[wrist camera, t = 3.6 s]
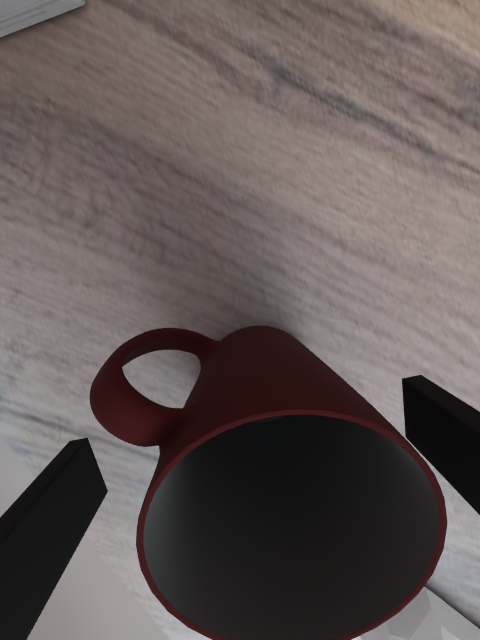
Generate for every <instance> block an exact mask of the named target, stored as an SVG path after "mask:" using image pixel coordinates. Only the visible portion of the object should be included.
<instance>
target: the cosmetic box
mask: <svg viewBox="0 0 480 640" xmlns="http://www.w3.org/2000/svg"><path fill="white" fill-rule="evenodd" d="M84 4H85V0H0V37H3V36H5V35H8V34H11V33H13V32H16V31H18V30H21V29H23V28H26V27H29V26H31V25H34V24H36V23H39V22H42V21H44V20H47V19H49V18H52V17H55V16H57V15H60V14H63V13H65V12H68V11H70V10H73V9H75V8H78V7H80V6H83V5H84Z"/></svg>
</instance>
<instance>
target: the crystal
mask: <svg viewBox="0 0 480 640" xmlns="http://www.w3.org/2000/svg"><path fill="white" fill-rule="evenodd" d="M360 636H361V639H362V640H480V629H479V628H477V627H476V626H475V625H474V624H472V623H471V622H470V621H468V620H467V619H466V618H465V617H463V616H462V615H461V614H459V613H458V612H457V611H456V610H454V609H453V608H452V607H451V606H449V605H448V604H447V603H445V602H444V601H443V600H442V599H440V598H439V597H438V596H436V595H435V594H434V593H433V592H431V591H430V590H429V589H427V588H426V587H423V588H422V590H421V591H420V593H419V594H418V595H417V596H416V597H415V598H414V599H413V600H412V601H411V602H410V603H409V604H408V605H407V606H405V607H404V608H403V609H402V610H401V611H400V612H399V613H398V614H396V615H395V616H393V617H392V618H390V619H389V620H387V621H386V622H384V623H383V624H381V625H380V626H378V627H377V628H375V629H373V630H371V631H369V632H367V633H364V634H362V635H360Z"/></svg>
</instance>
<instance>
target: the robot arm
mask: <svg viewBox="0 0 480 640" xmlns="http://www.w3.org/2000/svg"><path fill="white" fill-rule="evenodd" d="M402 387H403V402H404V417H405V433H406V438H407V439H408V440H409V441H410V442H411V443H412V444H413V445H414V446H415V447H416V448H417V450H418V451H419V452H420V453H421V454H422V455H423V456H424V457H425V458H426V459H427V460H428V461H429V462H430V463H431V464H432V465H433V466H434V467H435V468H436V470H437V471H438V472H439V473H440V474H441V475H442V476H443V477H444V478H445V479H446V480H447V481H448V482H449V483H450V484H451V485H452V486H453V487H454V488H455V489H456V491H457V492H458V493H459V494H460V495H461V496H462V497H463V498H464V499H465V500H466V501H467V502H468V503H469V504H470V505H471V506H472V507H473V508H474V509H475V511H476V512H477V513H478V514H479V515H480V412H479V411H477V410H476V409H474V408H473V407H471V406H470V405H468V404H466V403H465V402H463V401H462V400H460V399H458V398H457V397H455V396H454V395H452V394H450V393H449V392H447V391H446V390H444V389H442V388H441V387H439V386H438V385H436V384H435V383H433V382H431V381H430V380H428V379H427V378H425V377H423V376H422V375H418V376H413V377H408V378H402ZM107 492H108V490H107V488H106V485H105V482H104V480H103V477H102V475H101V472H100V469H99V467H98V464H97V461H96V459H95V456H94V454H93V451H92V448H91V446H90V443H89V440H88V438H84V439H78V440H73V441H69V443H68V444H67V445H66V446H65V447H64V448H63V449H62V450H61V451H60V452H59V454H58V455H57V456H56V457H55V458H54V459H53V460H52V461H51V462H50V463H49V465H48V466H47V467H46V468H45V469H44V470H43V471H42V472H41V473H40V474H39V476H38V477H37V478H36V479H35V480H34V481H33V482H32V483H31V485H30V486H29V487H28V488H27V489H26V490H25V491H24V492H23V493H22V494H21V495H20V497H19V498H18V499H17V500H16V501H15V502H14V503H13V504H12V505H11V507H10V508H9V509H8V510H7V511H6V512H5V513H4V514H3V515H2V516H1V517H0V640H27V638H28V636H29V634H30V632H31V630H32V629H33V627H34V625H35V623H36V621H37V619H38V618H39V616H40V614H41V612H42V610H43V609H44V607H45V605H46V603H47V601H48V599H49V598H50V596H51V594H52V592H53V590H54V588H55V587H56V585H57V583H58V581H59V579H60V578H61V576H62V574H63V572H64V570H65V568H66V567H67V565H68V563H69V561H70V559H71V558H72V556H73V554H74V552H75V550H76V548H77V547H78V545H79V543H80V541H81V539H82V538H83V536H84V534H85V532H86V530H87V528H88V527H89V525H90V523H91V521H92V519H93V518H94V516H95V514H96V512H97V510H98V508H99V507H100V505H101V503H102V501H103V499H104V497H105V496H106V494H107Z"/></svg>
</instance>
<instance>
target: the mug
mask: <svg viewBox="0 0 480 640" xmlns="http://www.w3.org/2000/svg"><path fill="white" fill-rule="evenodd" d="M157 350H181V351H185V352H189V353H192V354H194V355H196V356H197V357H198V359H199V360H200V364H201V371H200V374H199V377H198V379H197V381H196V383H195V385H194V387H193V389H192V391H191V393H190V395H189V397H188V399H187V401H186V403H185V406H184V408H168V407H165V406H162V405H159V404H157V403H155V402H153V401H151V400H149V399H148V398H146V397H145V396H143V395H142V394H140V393H139V392H138V391H137V390H136V389H135V388H134V387H132V385H131V384H130V383H129V382H128V380H127V379H126V377H125V375H124V373H123V370H122V367H123V366H124V365H125V364H127V363H128V362H130V361H131V360H133V359H135V358H136V357H139V356H141V355H143V354H146V353H149V352H153V351H157ZM90 405H91V409H92V411H93V414H94V416H95V417H96V419H97V420H98V422H99V423H100V424H101V425H102V426H103V427H104V428H105V429H106V430H107V431H108V432H110V433H111V434H113V435H114V436H116V437H117V438H119V439H121V440H123V441H125V442H128V443H130V444H133V445H137V446H143V447H149V446H159V450H160V456H159V460H158V464H157V467H156V470H155V472H154V475H153V478H152V480H151V483H150V485H149V488H148V490H147V493H146V496H145V499H144V502H143V505H142V508H141V511H140V515H139V518H138V525H137V537H136V547H137V553H138V558H139V563H140V567H141V571H142V573H143V575H144V577H145V579H146V581H147V583H148V585H149V587H150V589H151V591H152V593H153V594H154V595H155V596H156V598H157V599H158V600H159V601H160V602H161V604H162V605H163V606H164V607H165V608H166V610H167V611H168V612H169V613H171V614H172V615H173V616H174V617H176V618H177V619H178V620H180V621H181V622H182V623H183V624H185V625H186V626H187V627H188V628H190V629H192V630H194V631H196V632H198V633H200V634H202V635H204V636H206V637H208V638H210V639H212V640H351V639H354V638H356V637H358V636H360V635H362V634H364V633H367V632H369V631H371V630H373V629H375V628H377V627H378V626H380V625H381V624H383V623H384V622H386V621H387V620H389V619H390V618H392V617H393V616H395V615H396V614H398V613H399V612H400V611H401V610H402V609H403V608H404V607H405V606H407V605H408V604H409V603H410V602H411V601H412V600H413V599H414V598H415V597H416V596H417V595H418V594H419V593H420V591H421V590H422V588H423V587H424V585H425V584H426V583H427V581H428V580H429V578H430V577H431V576H432V574H433V573H434V570H435V568H436V566H437V563H438V561H439V558H440V556H441V554H442V551H443V549H444V542H445V536H446V529H447V516H446V507H445V500H444V496H443V494H442V491H441V488H440V485H439V483H438V481H437V479H436V477H435V475H434V473H433V471H432V470H431V469H430V467H429V466H428V464H427V463H426V462H425V460H424V459H423V458H422V457H421V456H420V455H419V453H418V452H417V451H416V450H415V449H414V448H413V447H412V445H411V444H410V443H409V442H408V441H407V440H406V439H405V438H404V437H403V436H402V435H401V434H400V433H399V432H398V431H397V430H396V429H395V428H394V427H393V426H392V425H391V424H390V423H389V422H388V421H387V420H386V419H385V418H384V417H383V416H382V415H381V414H380V413H379V412H378V411H377V410H376V409H375V408H374V407H373V406H372V405H371V404H370V403H369V402H368V401H366V400H365V399H364V398H363V397H362V396H361V395H360V394H359V393H358V392H357V391H356V390H354V389H353V388H352V387H351V386H350V385H349V384H348V383H347V382H346V381H344V380H343V379H342V378H341V377H340V376H339V375H338V374H336V373H335V372H334V371H333V370H332V369H331V368H330V367H328V366H327V365H326V364H325V363H324V362H323V361H322V360H320V359H319V358H318V357H317V356H316V355H315V354H313V353H312V352H311V351H310V350H309V349H308V348H306V347H305V346H304V345H303V344H302V343H300V342H299V341H298V340H297V339H295V338H294V337H293V336H291V335H290V334H288V333H286V332H285V331H282V330H280V329H277V328H274V327H269V326H251V327H246V328H243V329H240V330H237V331H235V332H233V333H231V334H229V335H228V336H227V337H225V338H224V339H223V340H222V341H220V342H219V341H215V340H213V339H210V338H208V337H206V336H204V335H202V334H200V333H197V332H194V331H190V330H186V329H180V328H161V329H155V330H150V331H147V332H144V333H142V334H140V335H137V336H135V337H134V338H132V339H130V340H128V341H127V342H125V343H124V344H122V345H121V346H120V347H119V348H118V349H116V350H115V351H114V352H113V353H112V355H111V356H110V357H109V358H108V360H107V361H106V362H105V364H104V365H103V366H102V368H101V369H100V371H99V372H98V374H97V375H96V377H95V379H94V381H93V383H92V386H91V390H90Z"/></svg>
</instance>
